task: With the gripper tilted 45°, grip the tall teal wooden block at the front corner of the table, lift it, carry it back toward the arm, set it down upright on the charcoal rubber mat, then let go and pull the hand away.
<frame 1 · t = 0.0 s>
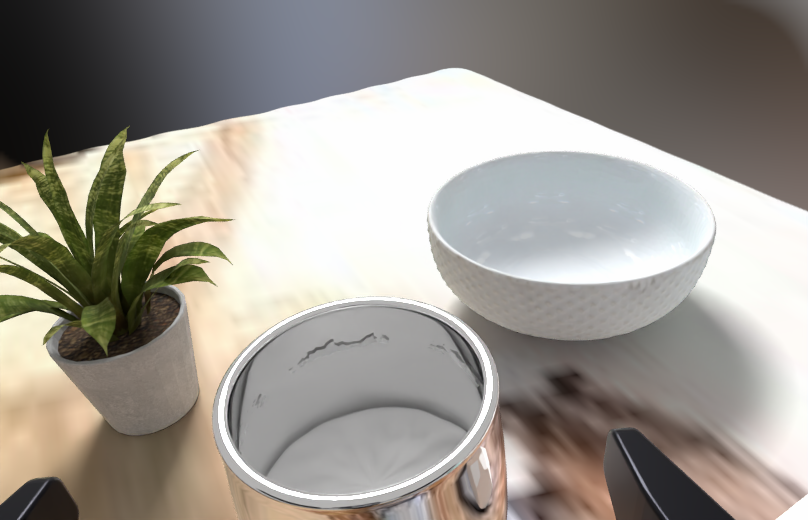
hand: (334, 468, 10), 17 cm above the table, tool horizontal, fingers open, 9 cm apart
house plant: (140, 420, 34), on the table
cereal bowl: (557, 297, 40), on the table
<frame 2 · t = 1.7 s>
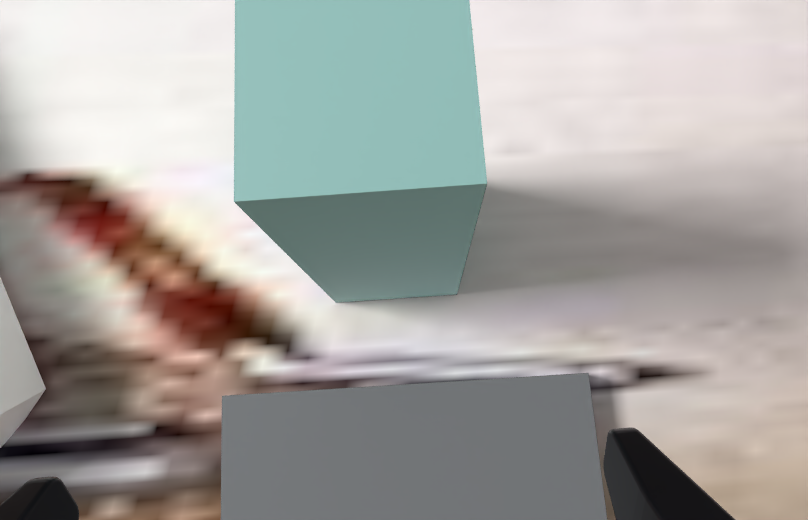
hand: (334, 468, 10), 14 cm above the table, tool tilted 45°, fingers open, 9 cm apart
teal block: (392, 239, 25), on the table
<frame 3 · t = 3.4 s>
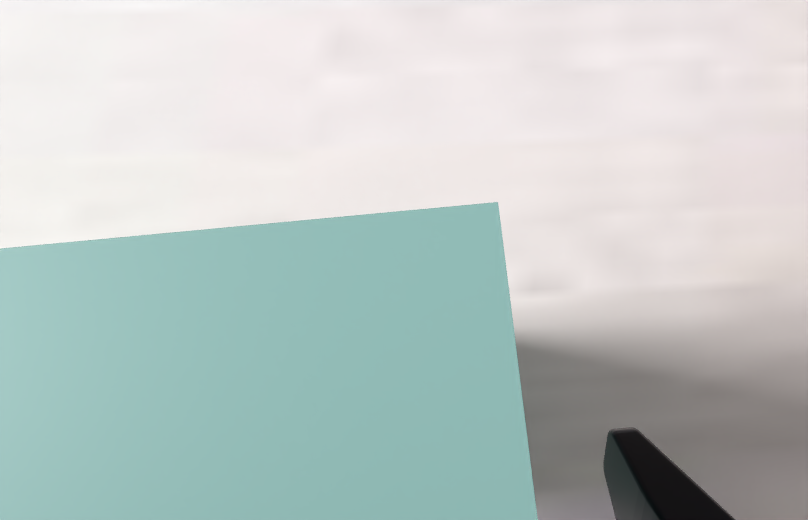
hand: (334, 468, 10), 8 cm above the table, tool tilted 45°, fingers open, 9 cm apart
teal block: (376, 420, 18), on the table
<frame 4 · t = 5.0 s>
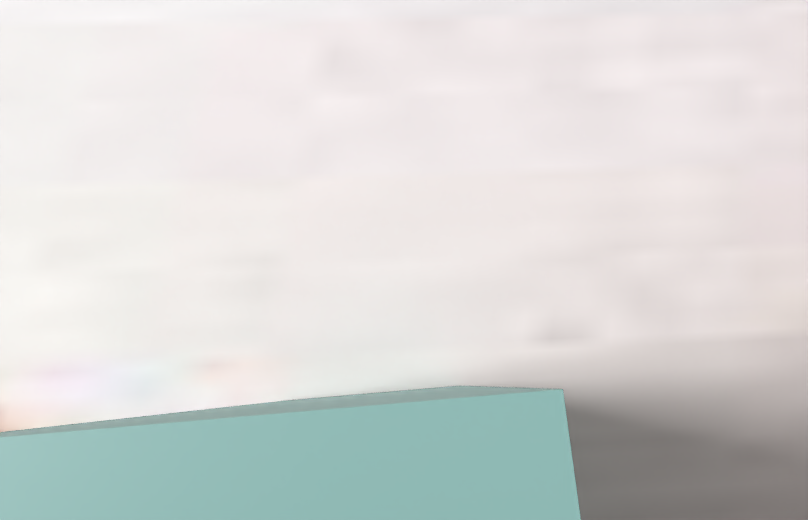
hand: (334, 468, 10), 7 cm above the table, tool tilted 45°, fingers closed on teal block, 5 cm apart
teal block: (376, 487, 16), on the table, touching gripper
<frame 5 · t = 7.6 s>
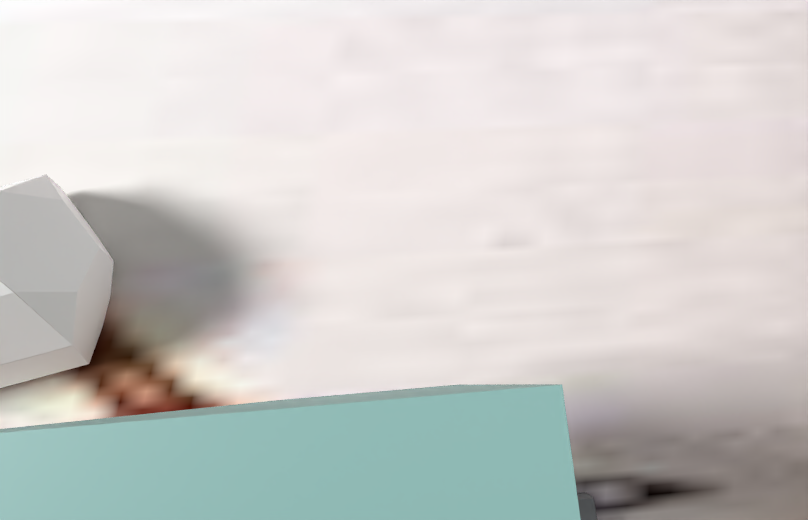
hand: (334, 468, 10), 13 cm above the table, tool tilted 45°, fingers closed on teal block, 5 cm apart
teal block: (376, 486, 16), point 6 cm above the table, touching gripper
when the fingers open (9 cm above the table, at t = 10.5 s): teal block drops 1 cm, resting on rubber mat.
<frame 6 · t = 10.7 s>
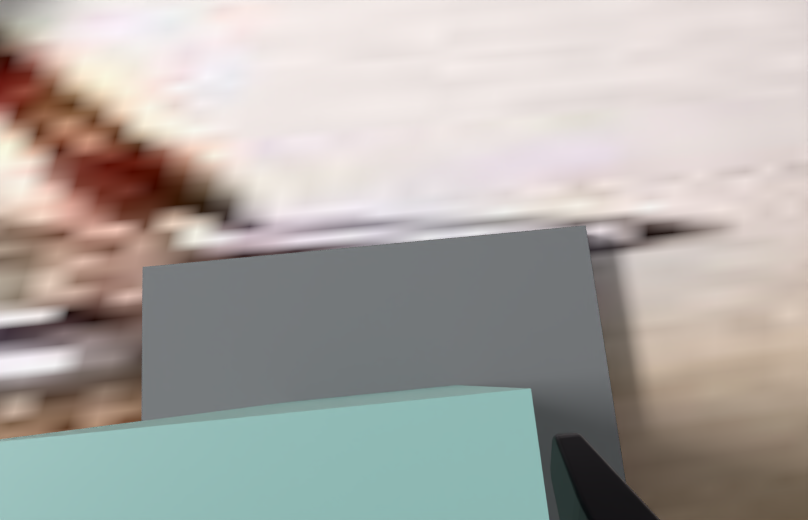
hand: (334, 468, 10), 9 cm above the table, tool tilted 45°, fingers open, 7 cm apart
rubber mat: (382, 475, 18), on the table
teal block: (380, 481, 17), point 1 cm above the table, touching rubber mat
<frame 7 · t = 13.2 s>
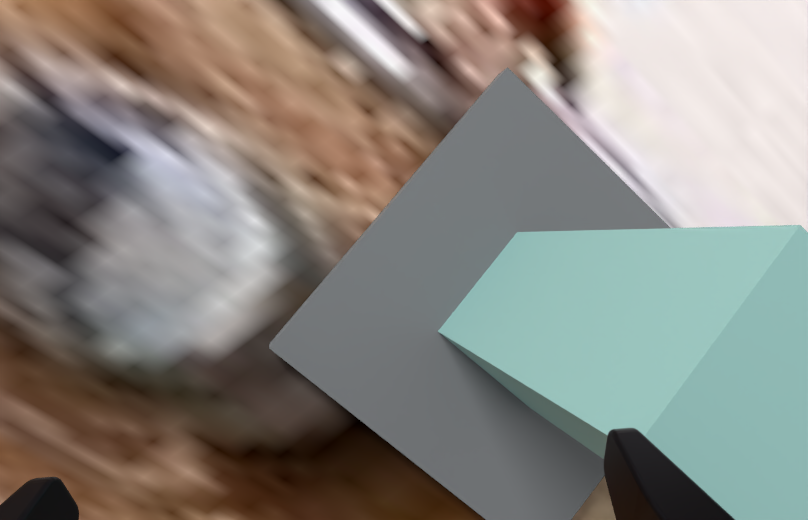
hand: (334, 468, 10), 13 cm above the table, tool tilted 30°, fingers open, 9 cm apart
rubber mat: (514, 316, 24), on the table
teal block: (523, 320, 23), point 1 cm above the table, touching rubber mat
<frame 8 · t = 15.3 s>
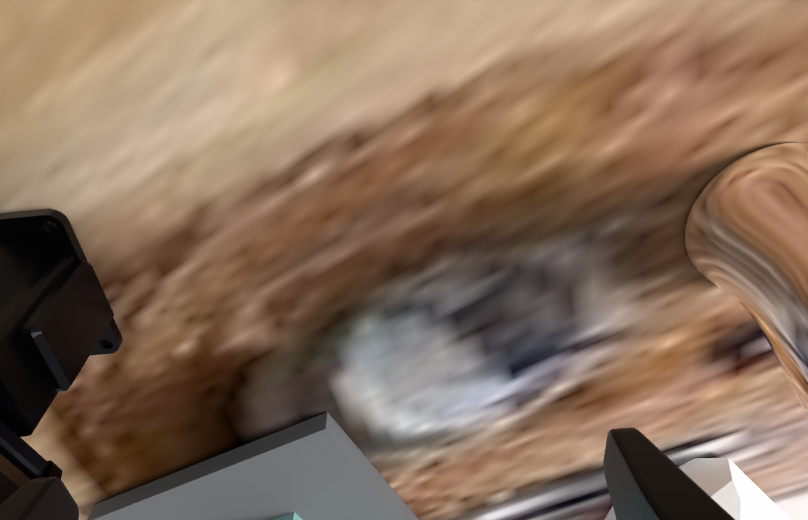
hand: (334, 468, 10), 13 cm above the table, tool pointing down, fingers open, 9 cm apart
beer glass: (761, 214, 23), on the table
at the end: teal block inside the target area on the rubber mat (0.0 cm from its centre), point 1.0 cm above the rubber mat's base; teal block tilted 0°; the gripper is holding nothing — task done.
